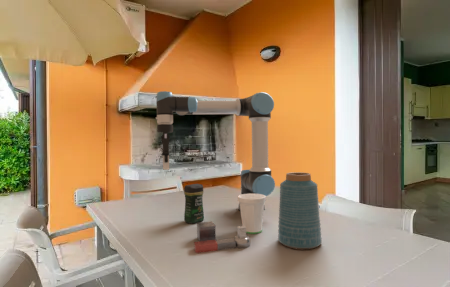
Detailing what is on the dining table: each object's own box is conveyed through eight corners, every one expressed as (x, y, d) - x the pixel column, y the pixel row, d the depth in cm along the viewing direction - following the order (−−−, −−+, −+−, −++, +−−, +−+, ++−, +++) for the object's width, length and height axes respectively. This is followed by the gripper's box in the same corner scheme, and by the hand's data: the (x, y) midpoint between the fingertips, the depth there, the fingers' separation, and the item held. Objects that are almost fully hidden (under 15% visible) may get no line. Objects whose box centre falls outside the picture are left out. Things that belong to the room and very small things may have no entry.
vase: (315, 254, 94) (314, 177, 94) (271, 245, 103) (270, 175, 102) (326, 239, 108) (324, 172, 107) (286, 232, 116) (285, 170, 116)
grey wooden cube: (212, 236, 114) (212, 221, 114) (215, 241, 108) (215, 225, 108) (197, 237, 113) (196, 222, 113) (199, 243, 106) (199, 227, 106)
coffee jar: (191, 225, 130) (191, 186, 130) (181, 221, 135) (181, 184, 135) (206, 220, 137) (206, 183, 137) (196, 217, 142) (196, 182, 142)
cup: (268, 227, 124) (268, 194, 124) (263, 236, 112) (263, 199, 112) (242, 225, 128) (242, 192, 128) (234, 233, 116) (234, 198, 116)
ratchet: (246, 241, 107) (246, 224, 107) (252, 247, 101) (251, 228, 101) (193, 247, 102) (193, 229, 102) (196, 254, 96) (195, 234, 96)
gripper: (157, 125, 142) (158, 166, 142) (156, 122, 118) (157, 171, 118) (171, 125, 144) (172, 165, 144) (174, 122, 120) (175, 170, 120)
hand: (165, 168), depth 131 cm, fingers open, 13 cm apart
